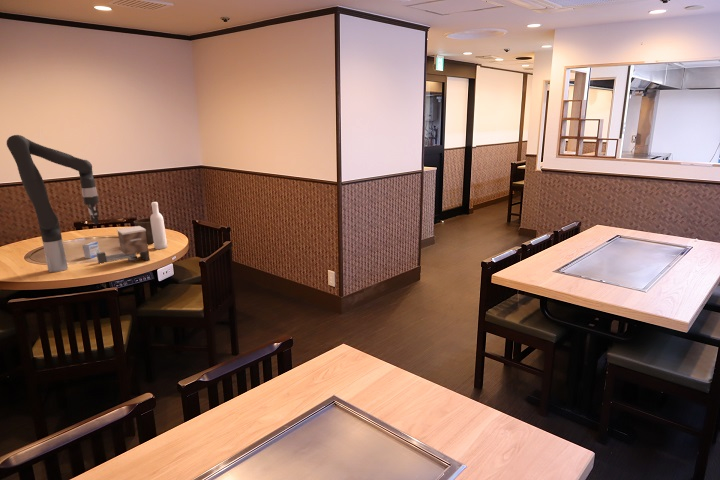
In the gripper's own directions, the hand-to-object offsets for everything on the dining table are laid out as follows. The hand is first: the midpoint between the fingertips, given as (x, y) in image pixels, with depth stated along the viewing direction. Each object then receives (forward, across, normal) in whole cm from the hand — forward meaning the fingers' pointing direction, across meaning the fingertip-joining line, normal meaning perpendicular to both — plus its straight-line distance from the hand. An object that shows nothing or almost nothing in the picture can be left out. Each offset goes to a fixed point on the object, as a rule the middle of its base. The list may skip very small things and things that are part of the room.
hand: (95, 223), depth 270 cm
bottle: (+24, -9, +36) cm, 44 cm away
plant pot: (+24, -28, +34) cm, 50 cm away
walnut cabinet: (+24, +10, +16) cm, 30 cm away
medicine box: (+24, -19, -2) cm, 31 cm away
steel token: (+24, +8, +15) cm, 29 cm away
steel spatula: (+24, 0, +8) cm, 25 cm away
